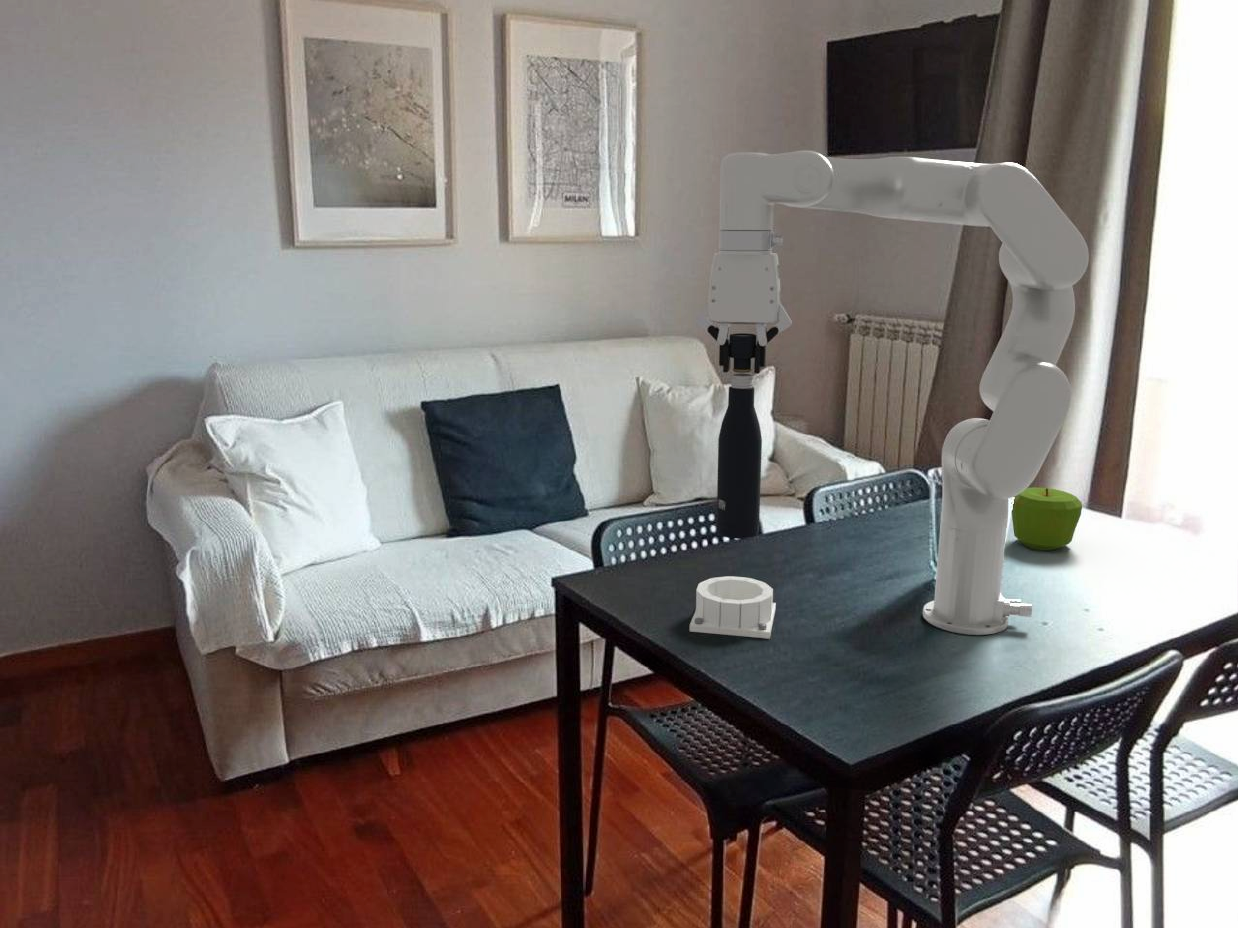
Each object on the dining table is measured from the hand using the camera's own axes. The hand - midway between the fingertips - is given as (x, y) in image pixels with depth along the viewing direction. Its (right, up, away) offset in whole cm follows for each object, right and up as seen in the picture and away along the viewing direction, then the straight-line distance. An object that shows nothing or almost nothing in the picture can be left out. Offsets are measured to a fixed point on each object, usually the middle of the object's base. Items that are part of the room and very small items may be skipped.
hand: (742, 370), depth 150 cm
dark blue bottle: (0, -24, +6) cm, 25 cm away
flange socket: (0, -38, +9) cm, 39 cm away
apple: (+62, -29, +46) cm, 83 cm away
